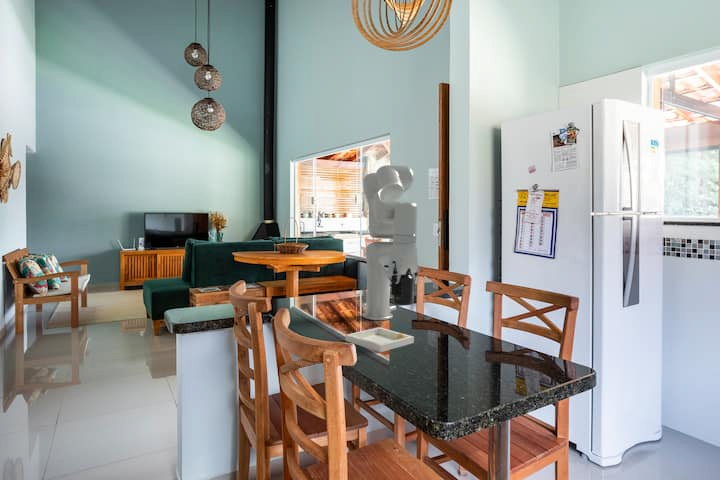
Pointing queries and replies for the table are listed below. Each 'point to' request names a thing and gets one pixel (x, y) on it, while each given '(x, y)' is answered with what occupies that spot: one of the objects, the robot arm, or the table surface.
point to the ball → (400, 336)
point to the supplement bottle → (405, 290)
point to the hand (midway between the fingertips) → (402, 293)
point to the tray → (379, 339)
